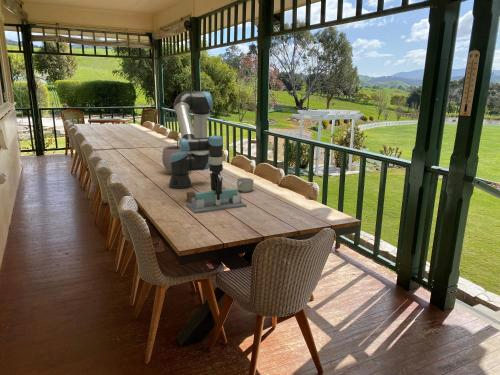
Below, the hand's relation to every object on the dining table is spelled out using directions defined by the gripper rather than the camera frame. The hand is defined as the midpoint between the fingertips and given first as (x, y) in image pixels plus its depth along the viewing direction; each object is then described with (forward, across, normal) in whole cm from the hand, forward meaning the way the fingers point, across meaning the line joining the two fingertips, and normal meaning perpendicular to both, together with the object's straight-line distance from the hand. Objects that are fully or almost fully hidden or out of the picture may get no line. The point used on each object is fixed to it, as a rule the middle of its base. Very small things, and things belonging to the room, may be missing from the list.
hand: (216, 204), depth 222 cm
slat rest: (+1, -16, 0) cm, 16 cm away
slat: (-3, 0, 0) cm, 3 cm away
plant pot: (+2, -93, +4) cm, 93 cm away
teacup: (+2, -23, +28) cm, 36 cm away
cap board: (+1, 0, 0) cm, 1 cm away
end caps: (+1, 0, 0) cm, 1 cm away
